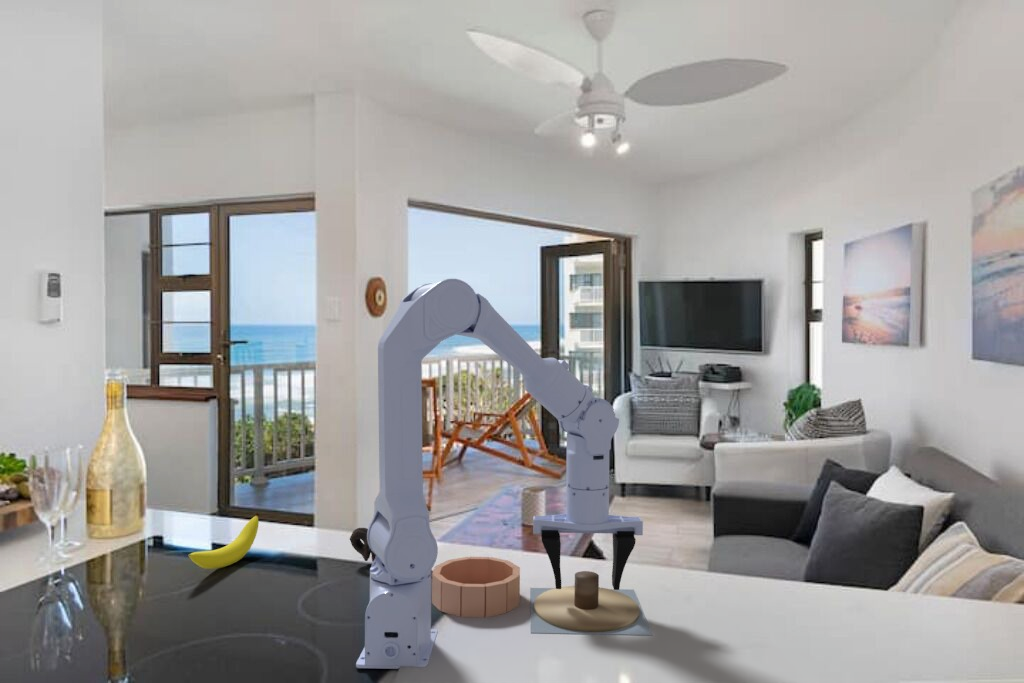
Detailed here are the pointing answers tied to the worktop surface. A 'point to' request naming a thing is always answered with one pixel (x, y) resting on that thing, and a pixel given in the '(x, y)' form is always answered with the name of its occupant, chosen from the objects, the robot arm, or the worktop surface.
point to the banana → (228, 549)
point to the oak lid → (586, 606)
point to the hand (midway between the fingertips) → (586, 586)
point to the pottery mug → (358, 545)
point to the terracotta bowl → (476, 586)
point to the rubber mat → (545, 628)
